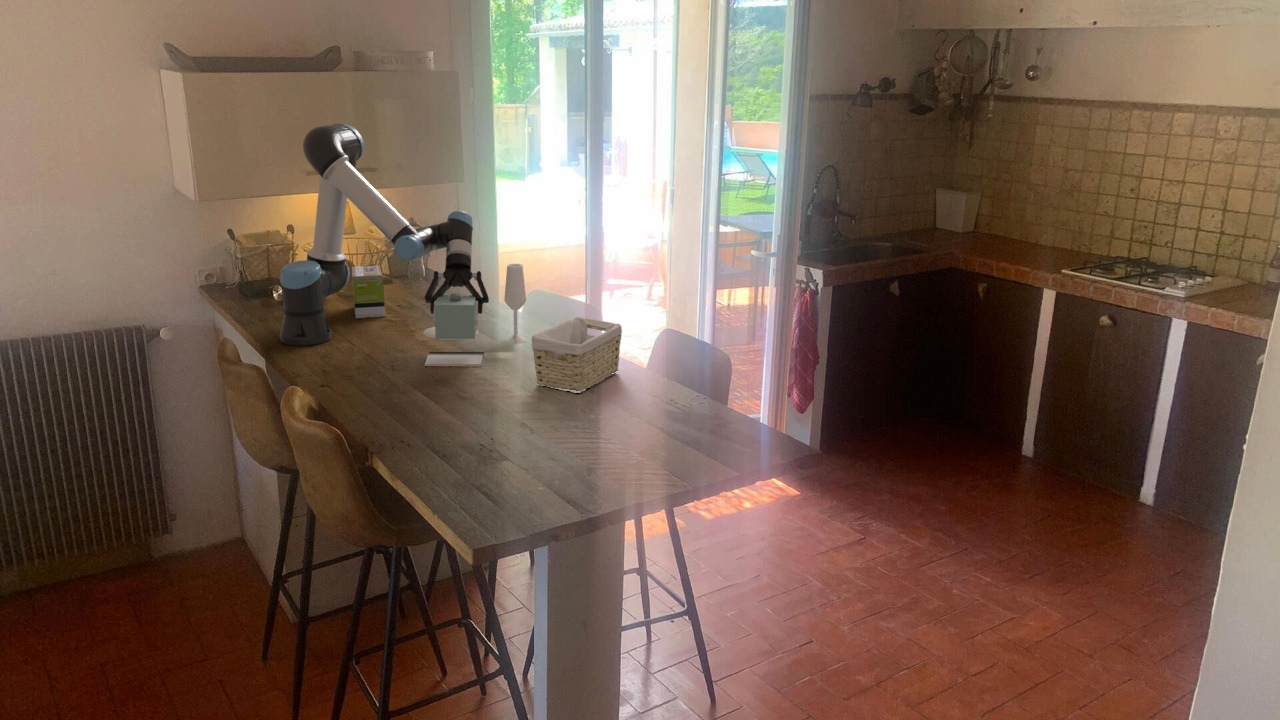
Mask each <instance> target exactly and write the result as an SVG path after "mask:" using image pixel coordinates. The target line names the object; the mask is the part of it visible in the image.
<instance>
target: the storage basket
mask: <svg viewBox="0 0 1280 720" xmlns="http://www.w3.org/2000/svg"><path fill="white" fill-rule="evenodd" d="M588 329H593V330H596V331H597V330H598V331H602V333H601V334H600V333H599V334H598V335H596V336H595V335H590V334H588ZM603 331H604V332H603ZM622 334H623V329H622V325H621V324H620V323H615V322H610V321H605V320H598V319H592V318H588V317H585V318H584V317H580V316H575V317H573V318H570V319H567V320H565V321H563V322H560V323H558V324H556V325H554V326H552V327H551V326H550V327H549V328H546V329H544V330H542V331H539V332H537V333H535V334H533V335H532V336H531V348H532V352H533V360H534V369H535V375H536V385H538V384H539V385H543V386H547V387H553V388H561V389H569V390H576V391H582V390H584V389H587V388H589V387H591V386H592V385H595V384H596V385H598V384H597V383H598V382H600V383H602V382H603V381H602V380H603V379H605V378H607V377H609V376H610V377H612V376H613V375H612V373H615V372H616V371H618V372H619V362H620V361H619V360H620V353H621V349H620V348H621V343H622V342H621V340H622ZM615 374H616V373H615ZM611 375H612V376H611ZM610 377H609V378H610ZM607 379H608V378H607ZM605 380H606V379H605ZM539 385H538V386H539ZM596 385H595V386H596ZM547 387H546V388H547ZM591 388H592V387H591Z"/></svg>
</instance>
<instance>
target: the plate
mask: <svg viewBox="0 0 1280 720" xmlns="http://www.w3.org/2000/svg"><path fill="white" fill-rule="evenodd" d="M422 333H423V336H425V337H427V338H429V339H433V340H437V341H438V340H439V341H440V340H441V341H457V340H458V341H459V340H460V339H436V335H435V326H432V327H428V328H426V329H425V330H424V331H423V332H422ZM478 334H479V330H478V329H477V331H476V335H478Z"/></svg>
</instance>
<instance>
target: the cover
mask: <svg viewBox="0 0 1280 720" xmlns="http://www.w3.org/2000/svg"><path fill="white" fill-rule="evenodd" d="M475 301H476V297H474V296H473V295H472V294H470V295H466V294H465V295H462V294H461V293H459V292H458V293H451V294H450V295H449V294H448V295H447V294H446V295H445V294H443V295H442V296H439V297H437V300H436V302H435V304H434V312H435V325H434V327H435V335H436V339H435V340H438V339H459V340H467V339H468V340H471V339H472V340H474V339H475V338H476V335H477V334H476V331H477V330H478V325H475Z"/></svg>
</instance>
